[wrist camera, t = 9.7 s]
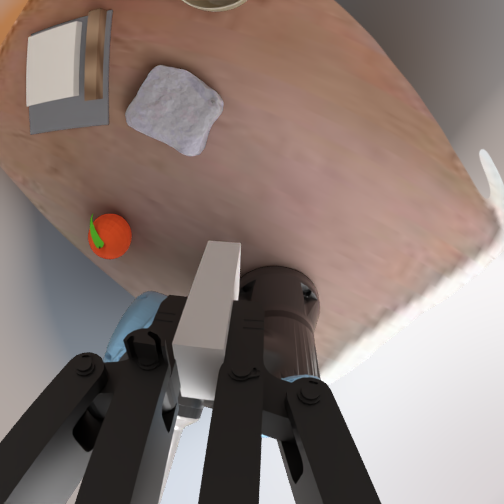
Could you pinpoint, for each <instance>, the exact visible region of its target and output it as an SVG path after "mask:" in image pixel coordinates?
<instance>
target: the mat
mask: <svg viewBox="0 0 504 504" xmlns="http://www.w3.org/2000/svg"><path fill="white" fill-rule="evenodd" d="M112 13H113V10H108V11H107V16H106V27H105V41H104V60H103V99H96V100H89V101H85V99H84V82H85V50H86V35H87V23H88V16H84V17H81V18H77V19H74V20H71V21H67V22H64V23H61V24H58V25H55V26H52V27H49V28H47V29H44V30H41V31H38V32H36V33H33V34H31V36H34V35H36V34H39V33H42V32H44V31H47V30H50V29H53V28H56V27H59V26H62V25H65V24H68V23H72V22H75V21H79V22H82V31H81V45H80V66H79V96H74V97H69V98H64V99H59V100H54V101H49V102H44V103H40V104H36V105H31V106H29V117H30V133H31V135H32V134H37V133H43V132H50V131H56V130H64V129H71V128H79V127H88V126H98V125H108V124H109V103H108V87H109V53H110V36H111V23H112Z"/></svg>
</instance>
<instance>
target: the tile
mask: <svg viewBox="0 0 504 504" xmlns="http://www.w3.org/2000/svg"><path fill="white" fill-rule="evenodd" d="M81 31H82V22H79V21H75V22H72V23H68V24H65V25H62V26H59V27H56V28H53V29H50V30H47V31H44V32H42V33H39V34H36V35H34V36H31V37H28V50H27V72H26V102H27V106H31V105H36V104H40V103H44V102H49V101H54V100H59V99H64V98H69V97H74V96H79V66H80V45H81Z"/></svg>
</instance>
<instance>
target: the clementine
mask: <svg viewBox="0 0 504 504" xmlns="http://www.w3.org/2000/svg"><path fill="white" fill-rule="evenodd" d="M92 216H93V214H92ZM92 216H91V219H90V229H89V233H88V240H89V244H90V247H91V249H92V250H93V252H94V253H95V254H96V255H98V256H99V257H102V258H105V259H114V258H118V257H120V256H122V255H123V254H124V253H125V252H126V251H127V250H128V248H129V246H130V243H131V237H132V234H131V229H130V226H129V224H128V223H127V221H126V220H125V219H124V218H122V217H121V216H119V215H116V214H104V215H101V216H100V217H98V218H97V219H95V221H94V222H93V220H92Z"/></svg>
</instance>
